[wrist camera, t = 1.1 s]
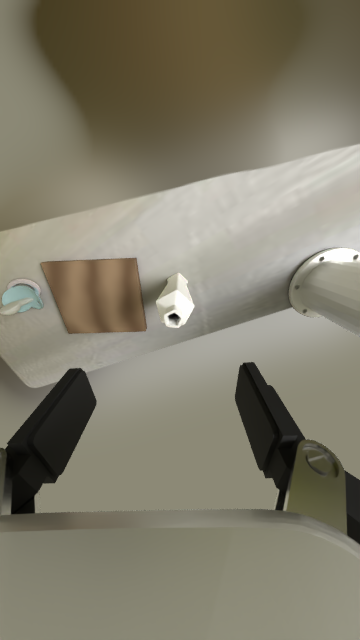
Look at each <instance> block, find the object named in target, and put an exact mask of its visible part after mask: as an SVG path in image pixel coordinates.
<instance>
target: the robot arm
mask: <svg viewBox="0 0 360 640" xmlns="http://www.w3.org/2000/svg"><path fill="white" fill-rule="evenodd" d="M289 300H290V303H291V305H292V307H293V308H294V309H295V310H296V311H297V312H299V313H300V314H302V315H304V316H307V317H325V318H327V319H329V320H330V321H332V322H334V323H336V324H338V325H339V326H341V327H343V328H345V329H346V330H348V331H350V332H352V333H354V334H355V335H357V336H359V337H360V253H359V252H358V251H356V250H353V249H350V248H331V249H327V250H324V251H322V252H319V253H317V254H316V255H314V256H312V257H311V258H310V259H308V260H307V261H306V262H305V263H304V264H303V265H302V266H301V267H300V268H299V269H298V271H297V272H296V273H295V275H294V277H293V279H292V281H291V284H290V287H289ZM235 401H236V404H237V407H238V410H239V413H240V416H241V419H242V422H243V425H244V427H245V430H246V433H247V436H248V439H249V442H250V445H251V448H252V451H253V454H254V457H255V459H256V462H257V465H258V468H259V469H260V470H263V472H264V475H265V478H273V480H274V483H275V485H276V487H277V488H278V492H277V496H276V500H275V505H274V509H273V510H265V509H203V510H202V509H200V510H147V511H146V510H144V511H100V512H99V511H98V512H61V513H41V512H40V494H39V490H40V488H41V486H42V484H43V483H55V482H56V480H57V478H58V476H59V475H61V474H62V473H63V471H64V469H65V467H66V465H67V463H68V461H69V459H70V457H71V455H72V453H73V451H74V449H75V447H76V445H77V443H78V441H79V439H80V437H81V435H82V433H83V431H84V429H85V427H86V425H87V423H88V421H89V419H90V417H91V415H92V413H93V410H94V409H95V406H96V398H95V396H94V393H93V391H92V388H91V386H90V383H89V381H88V378H87V376H86V373H85V371H83V370H82V369H81V368H74V369H69V370H68V371H67V372H66V373H65V375H64V376H63V377H62V378H61V379H60V381H59V382H58V383H57V384H56V385H55V387H54V388H53V389H52V390H51V391H50V393H49V394H48V395H47V396H46V398H45V399H44V400H43V401H42V402H41V403H40V405H39V406H38V407H37V408H36V409H35V411H34V412H33V413H32V414H31V415H30V417H29V418H28V419H27V420H26V421H25V423H24V424H23V425H22V426H21V427H20V429H19V430H18V431H17V432H16V433H15V435H14V436H13V437H12V438H11V439H10V441H9V442H8V443H7V444H8V446H7V447H6V449H4V448H0V640H360V480H359V479H357V478H356V477H354V476H353V475H351V474H349V473H348V472H346V471H345V470H344V468H343V466H342V464H341V462H340V460H339V459H338V458H337V456H336V455H335V454H334V453H333V452H332V451H331V450H330V449H329V448H327V447H326V446H324V445H323V444H321V443H319V442H317V441H315V440H310V439H307V440H306V439H305V437H304V436H303V434H302V433H301V431H300V429H299V428H298V426H297V425H296V423H295V421H294V420H293V418H292V417H291V415H290V414H289V412H288V410H287V409H286V407H285V406H284V404H283V402H282V401H281V399H280V397H279V396H278V394H277V393H276V391H275V390H274V388H273V387H272V386H271V385H267V383H266V382H265V380H264V378H263V377H262V375H261V373H260V371H259V370H258V368H257V366H256V365H255V363H253V362H251V363H250V362H249V363H243V365H240V368H239V374H238V381H237V387H236V394H235Z"/></svg>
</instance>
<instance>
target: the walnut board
mask: <svg viewBox="0 0 360 640" xmlns="http://www.w3.org/2000/svg"><path fill="white" fill-rule="evenodd" d="M41 266H42V268H43V271H44V273H45V276H46V278H47V281H48V283H49V286H50V288H51V291H52V293H53V295H54V298H55V300H56V303H57V305H58V308H59V310H60V313H61V315H62V318H63V320H64V323H65V325H66V328H67V330H68V333H69V334H72V333H105V332H137V331H146V329H147V325H146V319H145V312H144V305H143V299H142V292H141V285H140V279H139V272H138V266H137V259H136V258H121V259H97V260H74V261H50V262H42V263H41Z"/></svg>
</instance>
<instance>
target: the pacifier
mask: <svg viewBox="0 0 360 640" xmlns="http://www.w3.org/2000/svg"><path fill="white" fill-rule="evenodd" d="M21 283H23V284H28V285H30V286H32V287H33V288H34V289H35V291H34V290H33V289H31V288H30V287H27V286H16V285H17V284H21ZM15 286H16V287H15ZM40 293H41V290H40V287H39V286H38V285H37V284H36V283H35V282H33V281H31V280H28V279H16V280H13V281H11V282H10V283H9V284H8V286H7V291H6V292H5V293H4V294H3V296H2V303H3V305H4V306H3V307H2V308H1V309H0V314H2V315H12V314H15V313H17V312H24V311H27V310H28V309H30V308H31V307H34V308H36V309H41V308H43V302H42V300H41V299H40V297H39V296H40ZM38 301H39V302H40V304H39V303H38Z"/></svg>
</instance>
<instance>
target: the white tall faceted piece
mask: <svg viewBox="0 0 360 640" xmlns="http://www.w3.org/2000/svg"><path fill="white" fill-rule="evenodd" d="M167 282H168V284H167V285H166V287H165V288H164V290H163V291H162V293H161V294H160V296H159V298H158V299H157V301H156V305H157V308H158V312H159V316H160V320H161V322H162V323H165V324H166V326H167V327H173V328H179V327H180V326H181V325H184V324H185V323H186V321H187V319H188V318H189V316H190V314H191V312H192V310H193V309H194V304H193V301H192V299H191V296H190V293H189V291H188V288H187V286H186V285H187V283H188V281H187V280H186V279H185V278H184V277H183V276H182V275H181V274H180V273H176V274H175V275H173V276H171V277H169V278H168V279H167Z"/></svg>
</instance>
